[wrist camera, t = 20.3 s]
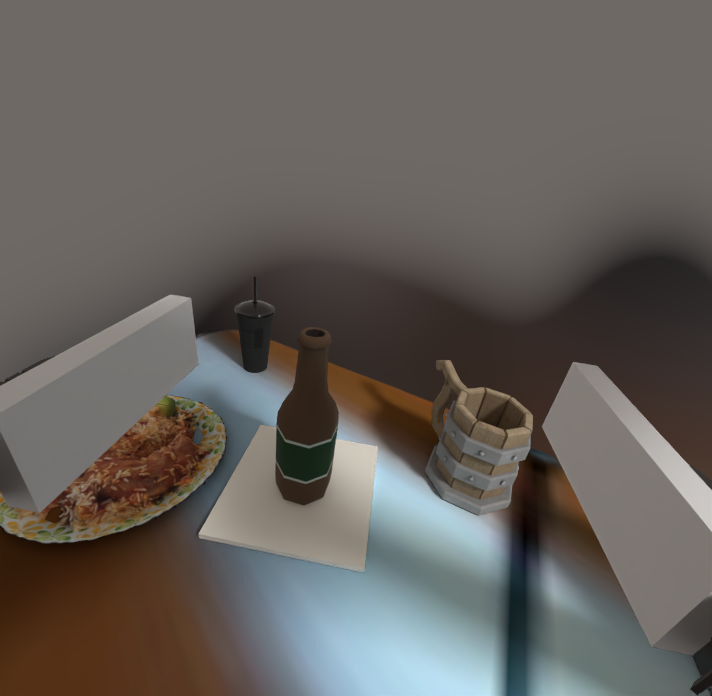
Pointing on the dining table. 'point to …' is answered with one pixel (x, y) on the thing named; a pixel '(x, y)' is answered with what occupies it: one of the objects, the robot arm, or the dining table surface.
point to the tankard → (477, 444)
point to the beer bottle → (307, 424)
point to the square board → (297, 507)
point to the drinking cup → (255, 331)
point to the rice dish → (131, 477)
